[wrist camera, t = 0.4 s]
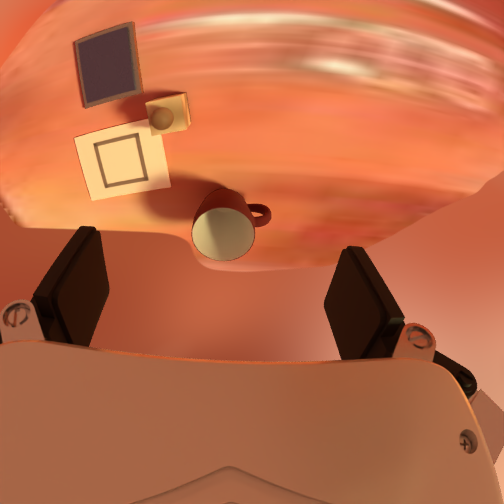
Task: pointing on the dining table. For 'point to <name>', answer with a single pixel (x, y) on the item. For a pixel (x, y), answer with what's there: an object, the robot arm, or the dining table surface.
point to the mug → (226, 225)
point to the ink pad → (109, 65)
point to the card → (122, 160)
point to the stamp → (168, 114)
